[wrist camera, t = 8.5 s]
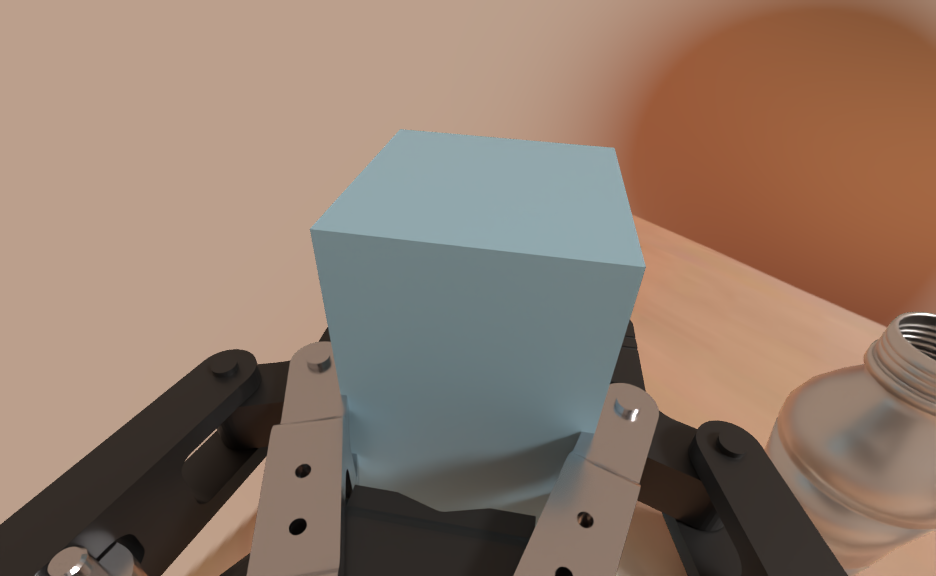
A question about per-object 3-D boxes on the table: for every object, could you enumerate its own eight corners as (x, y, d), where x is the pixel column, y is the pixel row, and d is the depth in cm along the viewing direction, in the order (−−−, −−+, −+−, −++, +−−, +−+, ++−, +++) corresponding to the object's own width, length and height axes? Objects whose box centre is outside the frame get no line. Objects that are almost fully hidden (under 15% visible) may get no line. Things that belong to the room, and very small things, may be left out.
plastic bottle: (675, 522, 31) (820, 273, 19) (788, 557, 29) (1023, 310, 18) (678, 631, 26) (877, 387, 14) (815, 680, 24) (1168, 453, 13)
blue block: (544, 460, 18) (614, 147, 11) (540, 610, 14) (645, 266, 7) (415, 440, 18) (400, 129, 11) (374, 577, 14) (309, 229, 7)
